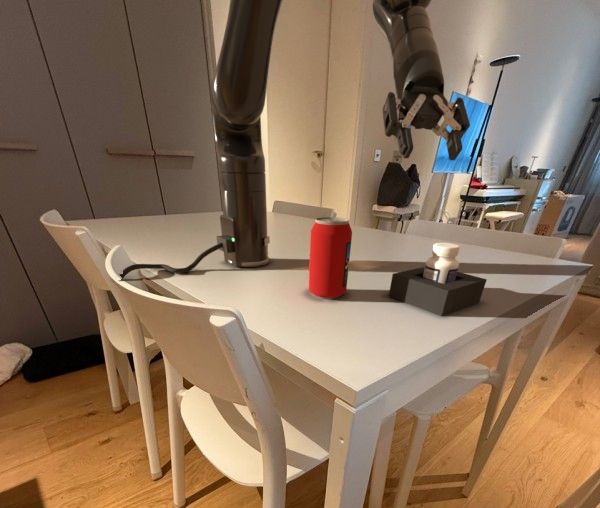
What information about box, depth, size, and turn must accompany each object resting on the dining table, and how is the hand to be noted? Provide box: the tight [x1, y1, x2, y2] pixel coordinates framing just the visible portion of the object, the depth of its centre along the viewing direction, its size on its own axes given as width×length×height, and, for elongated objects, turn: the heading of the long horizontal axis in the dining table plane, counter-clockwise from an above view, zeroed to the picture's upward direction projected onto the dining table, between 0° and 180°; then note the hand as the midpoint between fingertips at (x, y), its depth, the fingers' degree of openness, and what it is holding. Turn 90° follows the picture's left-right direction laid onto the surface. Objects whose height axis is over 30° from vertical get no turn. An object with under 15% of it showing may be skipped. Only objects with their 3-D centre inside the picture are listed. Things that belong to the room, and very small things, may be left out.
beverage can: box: [308, 216, 353, 300], centre depth 57 cm, size 7×7×12 cm
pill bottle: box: [423, 242, 460, 284], centre depth 57 cm, size 5×5×9 cm
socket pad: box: [388, 266, 488, 317], centre depth 58 cm, size 11×11×4 cm
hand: (432, 155), depth 56 cm, fingers open, 8 cm apart
